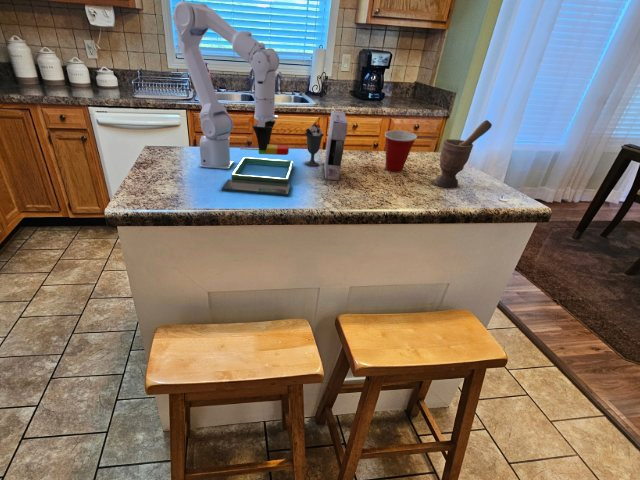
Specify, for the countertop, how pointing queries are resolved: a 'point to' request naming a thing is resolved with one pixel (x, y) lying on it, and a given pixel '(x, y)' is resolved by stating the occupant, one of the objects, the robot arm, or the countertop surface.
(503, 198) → the countertop surface
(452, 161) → the mortar and pestle
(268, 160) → the baking frame
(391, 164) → the plastic cup
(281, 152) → the popsicle
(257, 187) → the slate board
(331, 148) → the cake pan box
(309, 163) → the sundae
